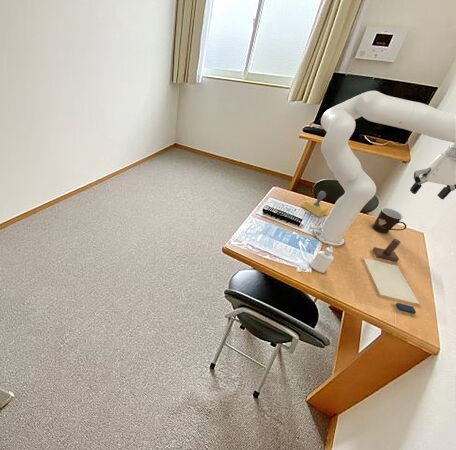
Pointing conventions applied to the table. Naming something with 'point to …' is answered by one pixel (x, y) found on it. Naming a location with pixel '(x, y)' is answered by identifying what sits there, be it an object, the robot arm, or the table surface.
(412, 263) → the table surface
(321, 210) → the rubber stamp
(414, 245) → the table surface
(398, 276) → the tile
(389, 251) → the handled square plate
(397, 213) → the coffee mug
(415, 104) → the robot arm
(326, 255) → the eye dropper bottle
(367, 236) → the table surface
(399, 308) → the eraser
